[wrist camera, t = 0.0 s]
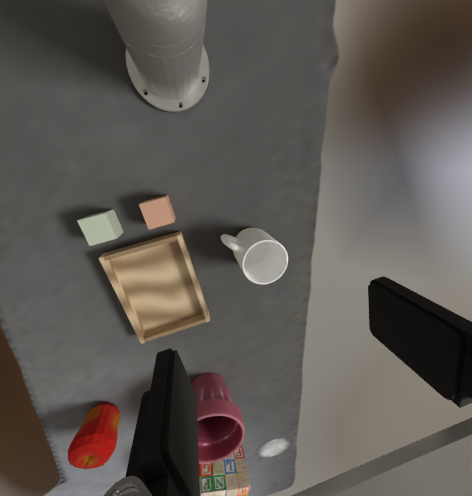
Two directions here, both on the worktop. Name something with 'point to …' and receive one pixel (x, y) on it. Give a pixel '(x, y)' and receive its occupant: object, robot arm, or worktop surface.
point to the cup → (258, 255)
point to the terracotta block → (157, 212)
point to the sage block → (100, 227)
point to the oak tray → (157, 286)
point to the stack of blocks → (225, 476)
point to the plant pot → (216, 419)
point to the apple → (95, 437)
